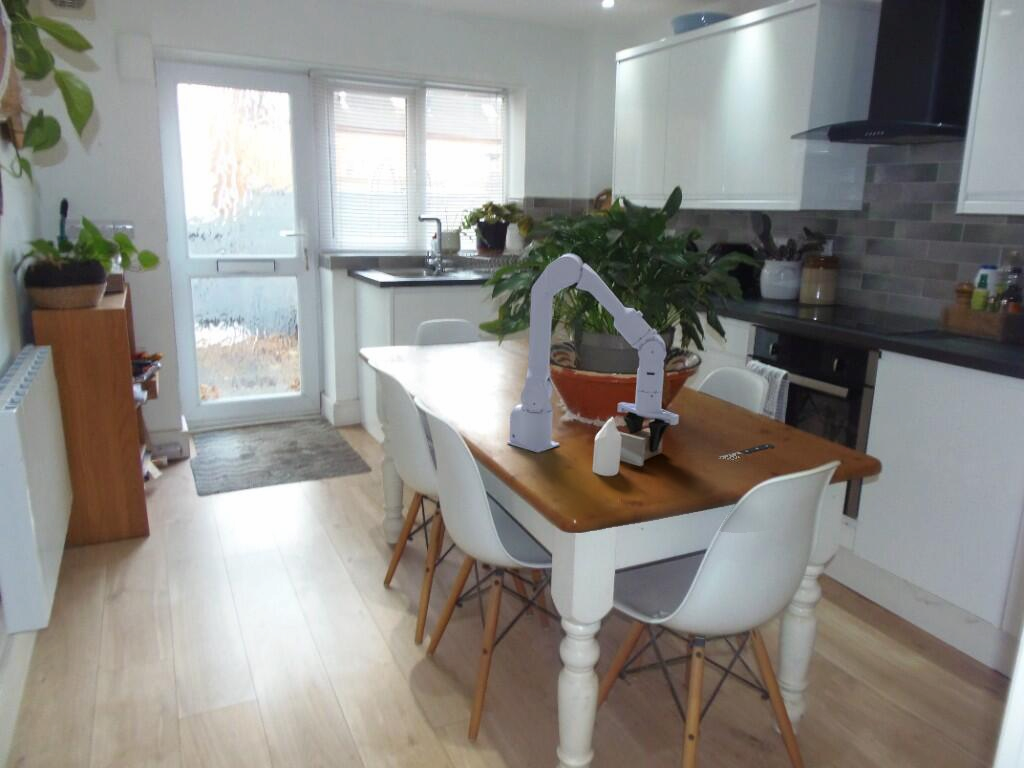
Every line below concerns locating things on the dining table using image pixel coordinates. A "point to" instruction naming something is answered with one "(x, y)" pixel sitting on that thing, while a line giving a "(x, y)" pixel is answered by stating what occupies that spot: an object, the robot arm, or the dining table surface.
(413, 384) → the dining table surface
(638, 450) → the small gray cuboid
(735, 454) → the kitchen knife
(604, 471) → the white pointed cylinder
